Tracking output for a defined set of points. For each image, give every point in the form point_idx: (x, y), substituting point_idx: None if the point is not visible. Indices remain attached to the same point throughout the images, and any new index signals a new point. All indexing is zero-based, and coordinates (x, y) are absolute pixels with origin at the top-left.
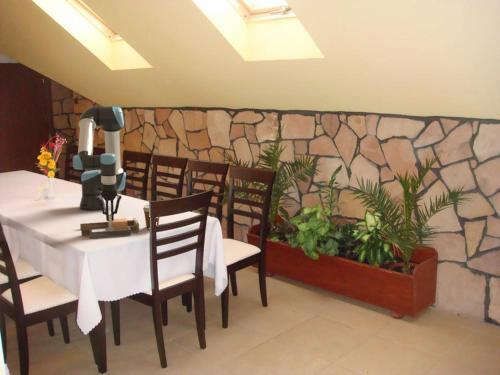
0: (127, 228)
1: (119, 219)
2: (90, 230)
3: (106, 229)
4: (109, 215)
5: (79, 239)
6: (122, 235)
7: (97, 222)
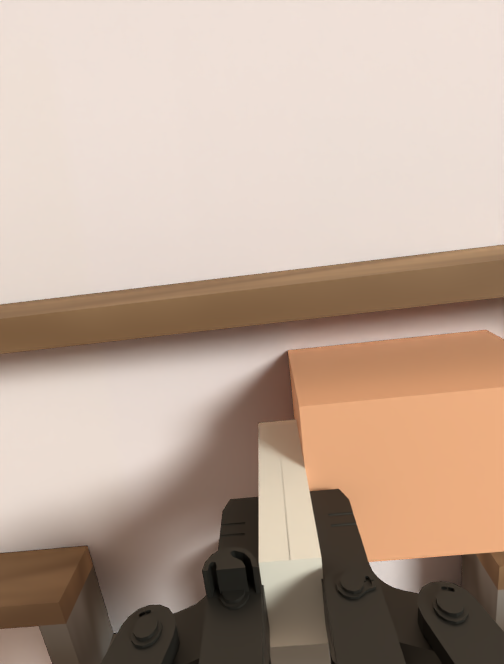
0: (489, 593)
1: (448, 427)
2: (61, 650)
3: None
4: (287, 639)
5: (6, 656)
6: None
7: (78, 311)
